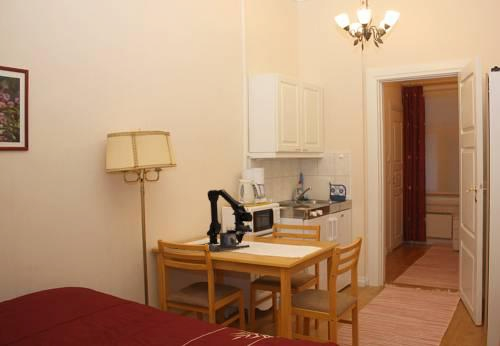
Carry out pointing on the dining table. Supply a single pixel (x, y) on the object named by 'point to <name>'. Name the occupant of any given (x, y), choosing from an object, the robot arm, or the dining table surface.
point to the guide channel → (217, 248)
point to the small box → (227, 240)
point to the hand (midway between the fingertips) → (239, 243)
